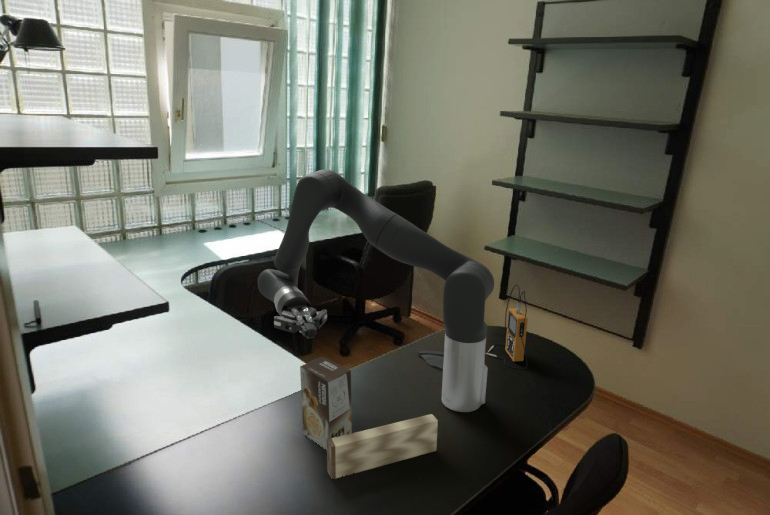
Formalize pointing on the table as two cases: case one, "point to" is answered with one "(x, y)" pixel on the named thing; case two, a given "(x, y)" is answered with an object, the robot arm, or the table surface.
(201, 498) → the table surface
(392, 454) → the board
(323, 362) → the coffee box
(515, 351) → the multimeter
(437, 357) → the curved wedge
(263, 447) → the table surface
